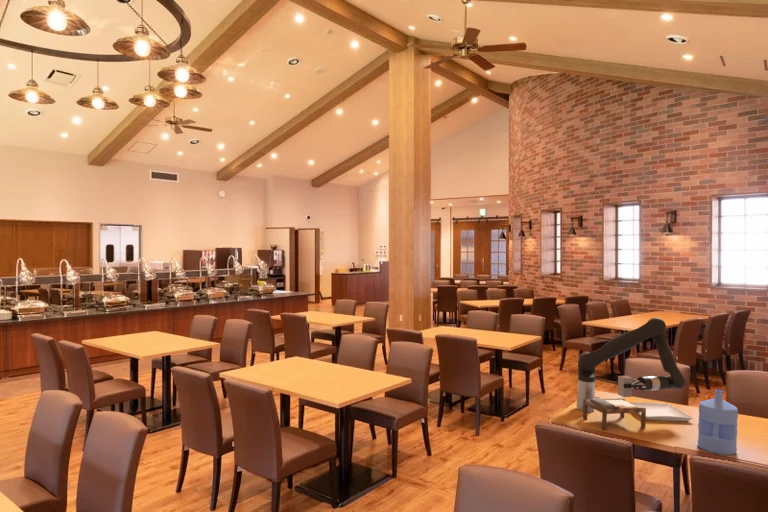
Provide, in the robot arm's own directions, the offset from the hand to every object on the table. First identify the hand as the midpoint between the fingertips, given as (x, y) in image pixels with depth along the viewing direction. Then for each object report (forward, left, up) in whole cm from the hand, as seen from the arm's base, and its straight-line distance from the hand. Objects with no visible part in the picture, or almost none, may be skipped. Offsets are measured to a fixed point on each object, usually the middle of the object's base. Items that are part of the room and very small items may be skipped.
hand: (620, 384), depth 281 cm
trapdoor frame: (-2, -2, -21) cm, 22 cm away
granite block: (0, +3, -6) cm, 7 cm away
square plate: (-12, +32, -22) cm, 41 cm away
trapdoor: (-2, -2, -13) cm, 14 cm away
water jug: (+38, +24, -22) cm, 50 cm away
